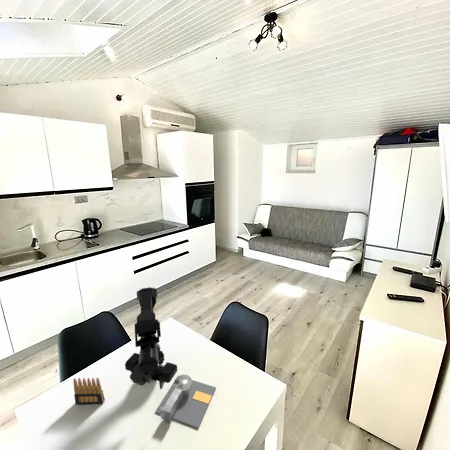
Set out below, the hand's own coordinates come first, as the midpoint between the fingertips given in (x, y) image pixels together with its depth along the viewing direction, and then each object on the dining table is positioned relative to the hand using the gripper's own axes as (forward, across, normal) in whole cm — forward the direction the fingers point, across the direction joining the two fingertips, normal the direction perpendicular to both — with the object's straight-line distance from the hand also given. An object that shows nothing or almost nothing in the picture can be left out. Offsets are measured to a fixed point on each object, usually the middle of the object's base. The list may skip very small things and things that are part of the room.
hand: (152, 385), depth 91 cm
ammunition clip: (+12, -27, -5) cm, 30 cm away
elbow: (+11, +6, +6) cm, 14 cm away
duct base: (+12, +9, +8) cm, 17 cm away
